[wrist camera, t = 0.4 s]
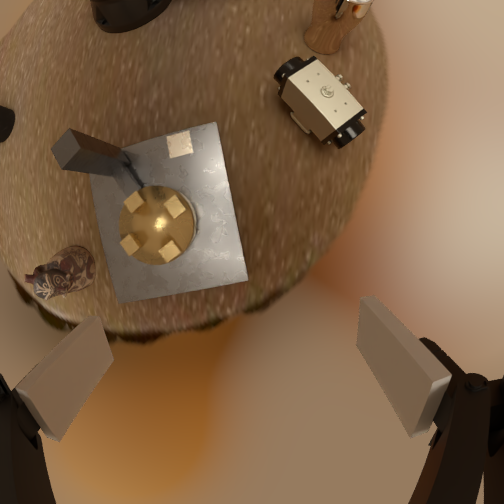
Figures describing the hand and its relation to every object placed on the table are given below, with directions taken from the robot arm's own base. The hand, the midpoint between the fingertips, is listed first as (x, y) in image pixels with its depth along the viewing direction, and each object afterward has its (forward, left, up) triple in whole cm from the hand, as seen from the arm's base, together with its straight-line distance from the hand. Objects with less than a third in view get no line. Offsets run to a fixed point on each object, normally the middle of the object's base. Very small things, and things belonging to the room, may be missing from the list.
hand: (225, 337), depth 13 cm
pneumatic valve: (-17, +13, -27) cm, 35 cm away
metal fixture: (-9, -11, -25) cm, 28 cm away
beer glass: (-31, +19, -27) cm, 45 cm away
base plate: (-7, -10, -27) cm, 29 cm away
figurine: (-2, -27, -27) cm, 38 cm away
